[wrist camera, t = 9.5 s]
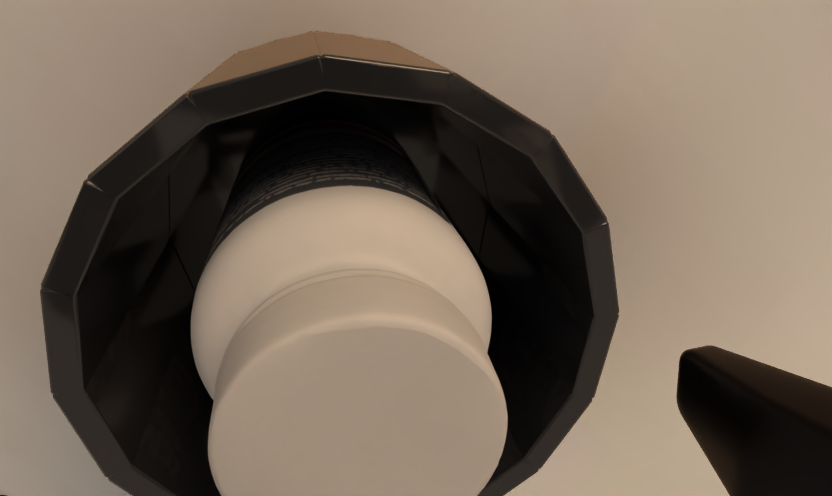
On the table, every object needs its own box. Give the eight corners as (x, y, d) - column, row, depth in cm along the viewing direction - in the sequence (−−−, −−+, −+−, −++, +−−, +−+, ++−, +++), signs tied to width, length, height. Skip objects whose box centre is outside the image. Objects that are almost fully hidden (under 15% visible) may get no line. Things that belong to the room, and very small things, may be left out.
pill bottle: (186, 184, 15) (42, 409, 7) (365, 77, 14) (444, 177, 6) (302, 334, 17) (301, 640, 9) (459, 245, 17) (605, 475, 9)
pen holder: (316, 410, 19) (322, 622, 12) (70, 193, 15) (-107, 341, 8) (556, 230, 18) (698, 360, 11) (359, -53, 14) (408, -97, 7)
